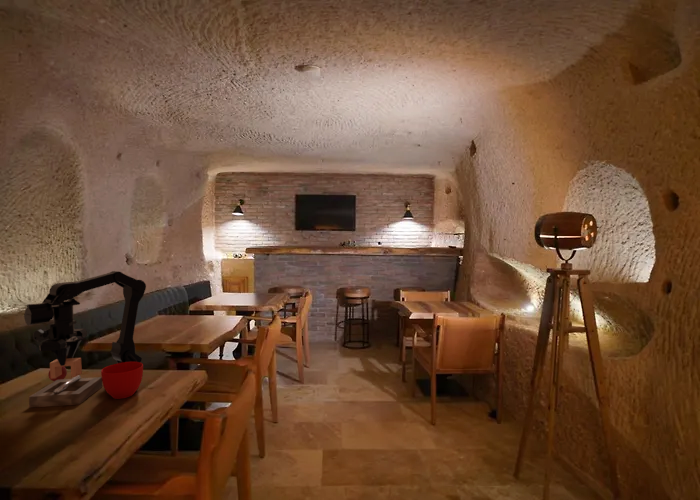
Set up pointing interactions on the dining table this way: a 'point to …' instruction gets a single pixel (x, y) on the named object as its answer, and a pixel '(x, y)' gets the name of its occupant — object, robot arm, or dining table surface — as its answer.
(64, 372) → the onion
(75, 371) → the orange arch block
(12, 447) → the dining table surface
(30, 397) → the grey flat frame
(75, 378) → the hook rod
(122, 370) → the red bowl
